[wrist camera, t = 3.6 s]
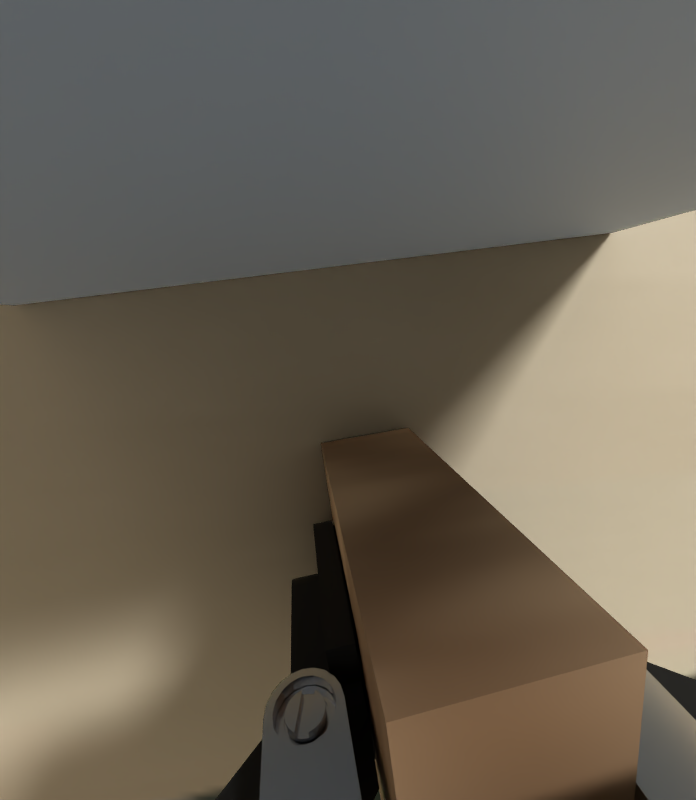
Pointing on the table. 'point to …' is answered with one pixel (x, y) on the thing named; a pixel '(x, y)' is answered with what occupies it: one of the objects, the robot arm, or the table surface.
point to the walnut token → (476, 640)
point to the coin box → (328, 133)
